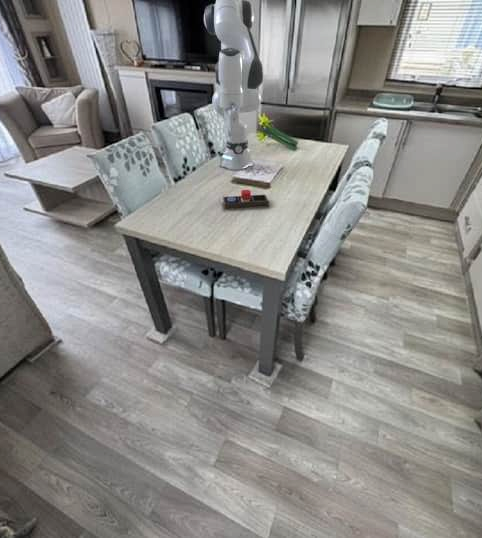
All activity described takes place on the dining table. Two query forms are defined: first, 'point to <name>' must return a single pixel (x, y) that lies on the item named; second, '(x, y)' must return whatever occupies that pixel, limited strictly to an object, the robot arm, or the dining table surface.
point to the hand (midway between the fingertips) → (231, 139)
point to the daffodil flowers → (275, 134)
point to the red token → (245, 194)
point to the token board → (252, 203)
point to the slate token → (231, 200)
